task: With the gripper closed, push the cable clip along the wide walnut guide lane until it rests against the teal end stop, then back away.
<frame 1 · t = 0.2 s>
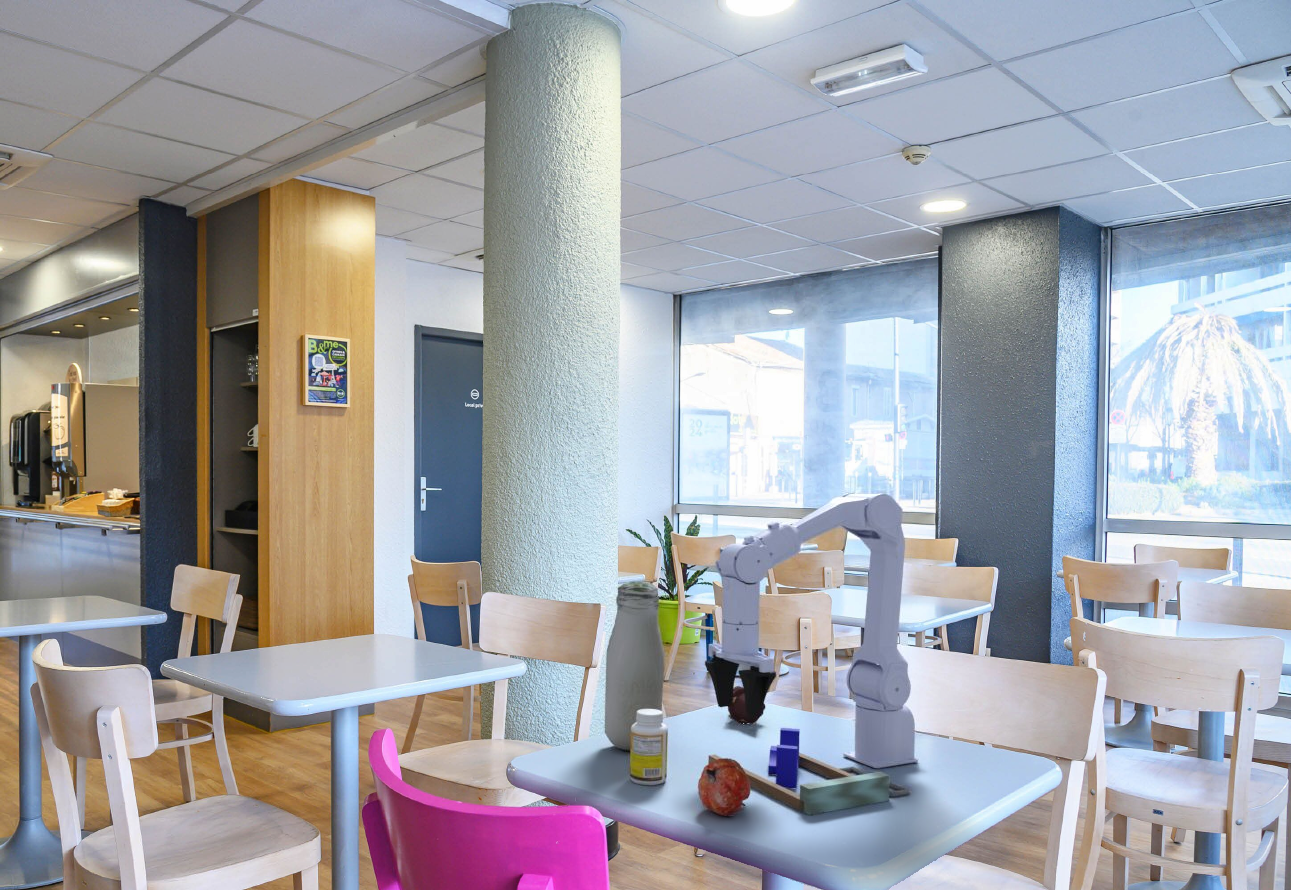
hand: (738, 711, 141), 10 cm above the table, tool pointing down, fingers open, 7 cm apart
icecream: (745, 724, 174), on the table
supplement bottle: (647, 781, 137), on the table
glass bottle: (632, 749, 154), on the table
guide lane: (791, 780, 139), on the table
cable clip: (782, 777, 142), resting in guide lane
pomegranate: (724, 813, 125), on the table
cord loop: (871, 783, 139), on the table
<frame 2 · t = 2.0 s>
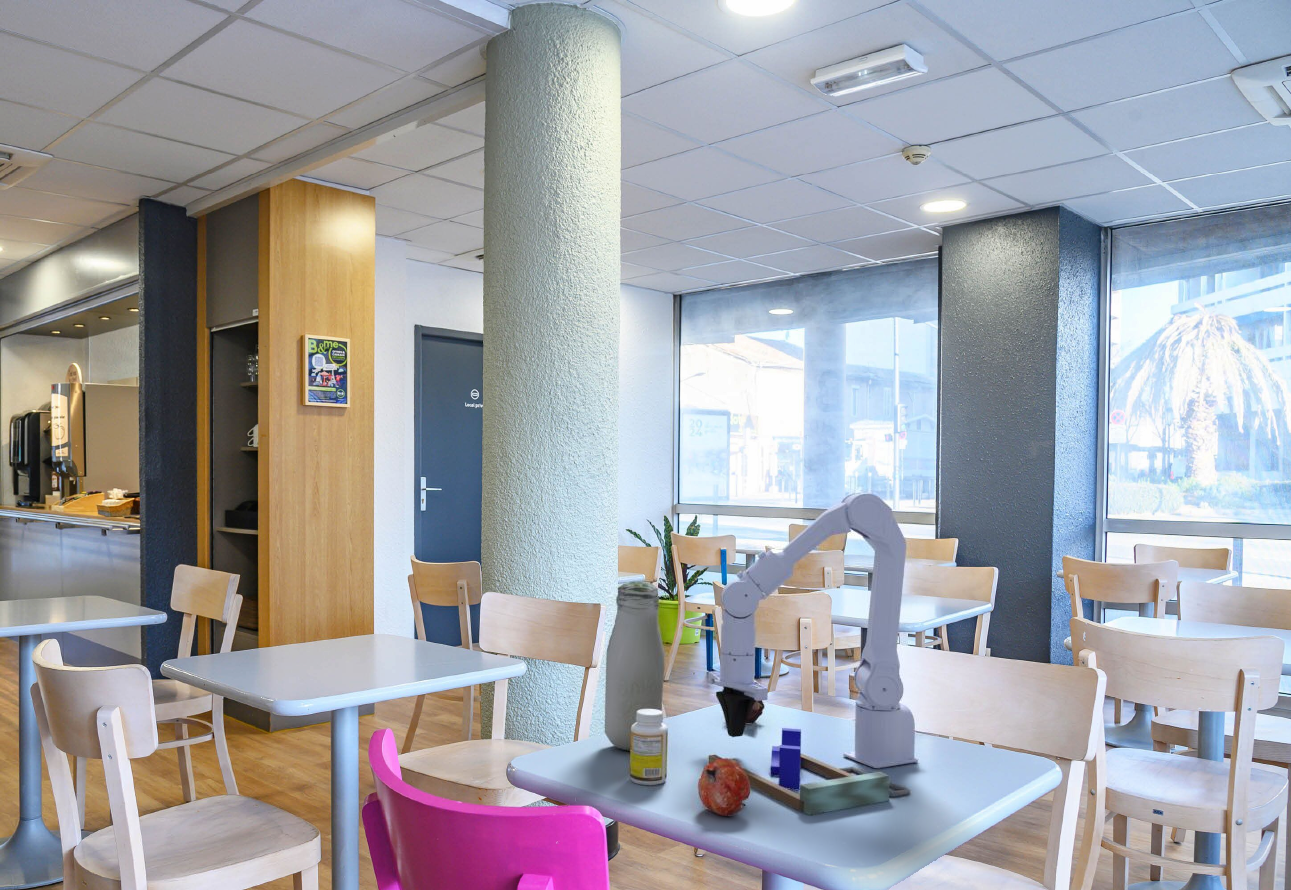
hand: (735, 735, 152), 3 cm above the table, tool pointing down, fingers closed
nothing on the table moved.
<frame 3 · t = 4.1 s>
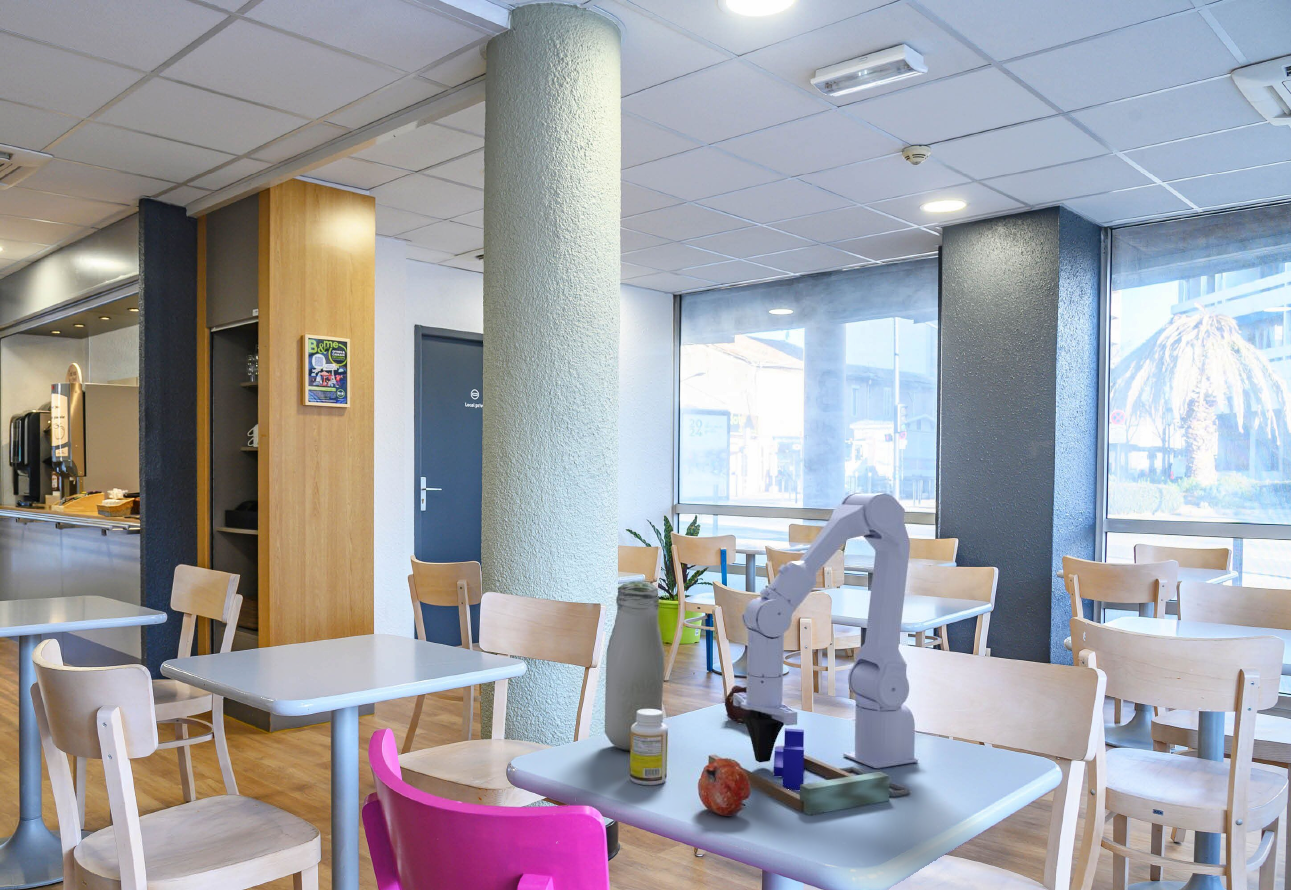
hand: (762, 760, 146), 1 cm above the table, tool pointing down, fingers closed
cable clip: (788, 779, 141), resting in guide lane, touching gripper
everything else where it was.
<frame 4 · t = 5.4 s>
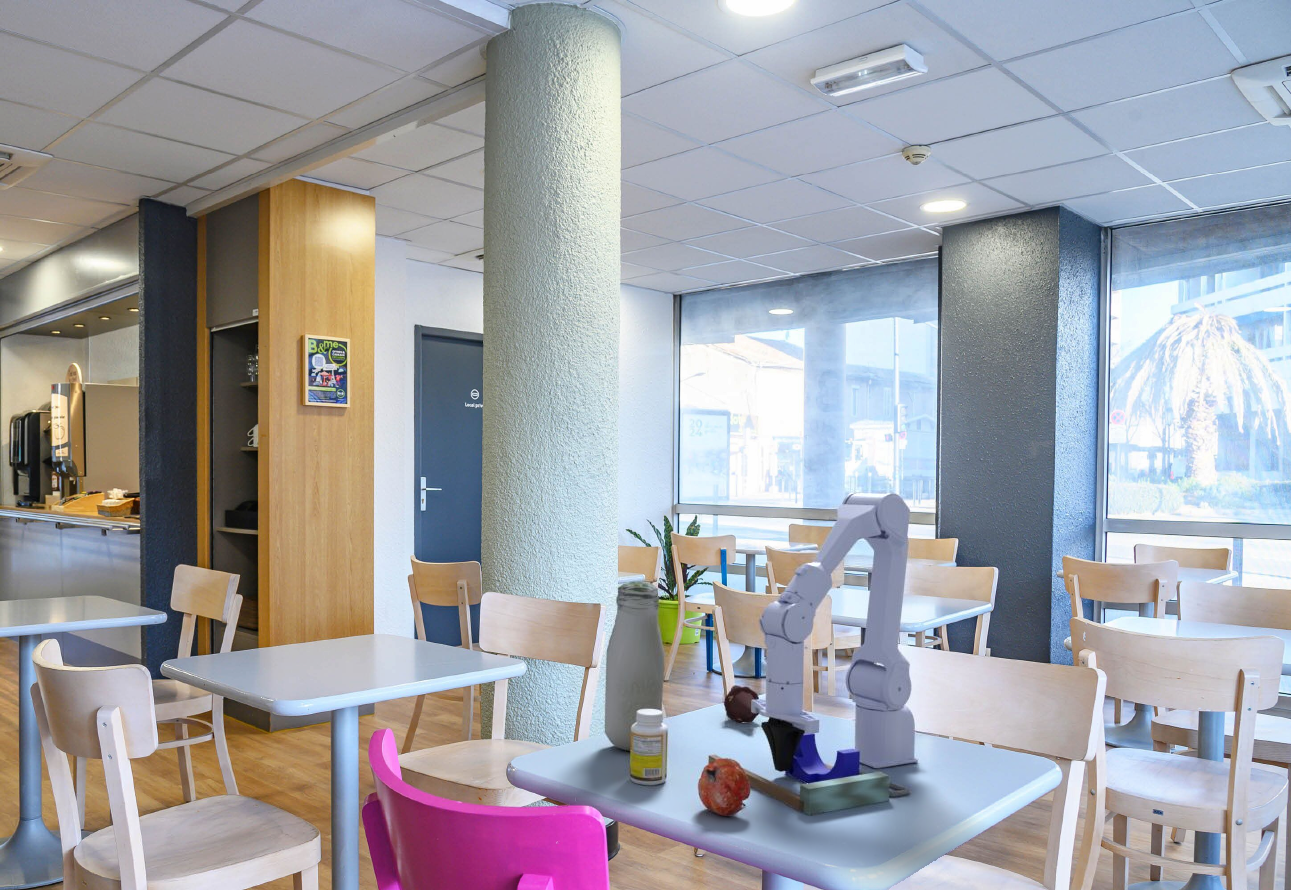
hand: (782, 769, 141), 1 cm above the table, tool pointing down, fingers closed
cable clip: (820, 783, 139), resting in guide lane, touching gripper
everything else where it was.
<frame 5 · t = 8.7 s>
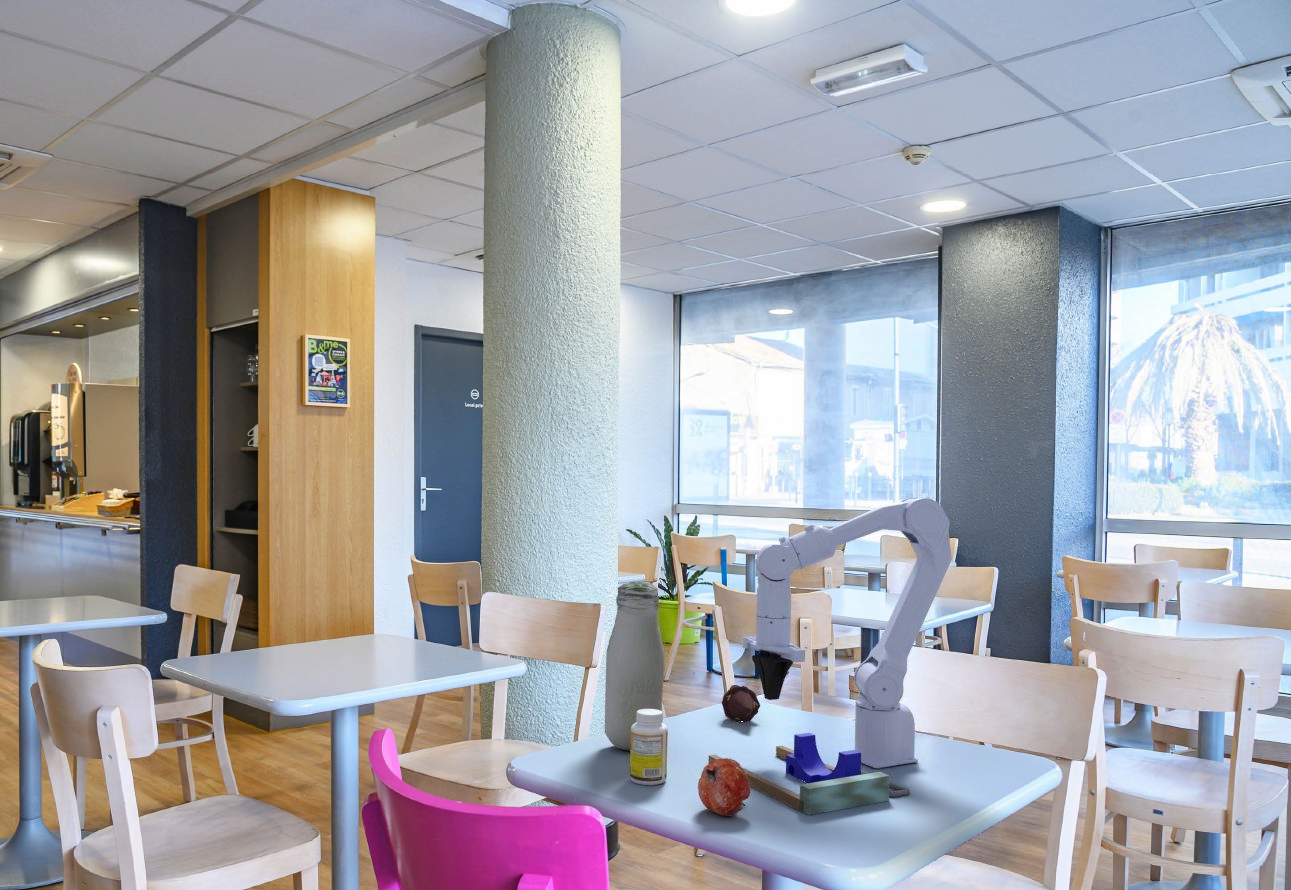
hand: (771, 698, 153), 9 cm above the table, tool pointing down, fingers closed
cable clip: (822, 785, 139), resting in guide lane
at the end: cable clip inside the target area (4.5 cm from its centre), resting in guide lane; cable clip moved 6.5 cm from its start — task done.
